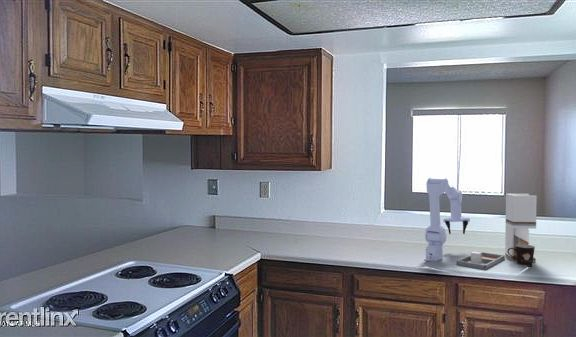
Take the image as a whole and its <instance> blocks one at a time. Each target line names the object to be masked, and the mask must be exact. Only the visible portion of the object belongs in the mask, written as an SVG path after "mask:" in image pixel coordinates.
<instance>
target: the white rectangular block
mask: <svg viewBox="0 0 576 337" xmlns="http://www.w3.org/2000/svg"><path fill="white" fill-rule="evenodd" d="M481 252H482V251H478V252H477V251H472V252H470V255H471V263H475V264H481V265H482V253H481Z"/></svg>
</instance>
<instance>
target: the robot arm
mask: <svg viewBox="0 0 576 337" xmlns="http://www.w3.org/2000/svg"><path fill="white" fill-rule="evenodd" d="M425 185H426V193H427V194H428V199H429V200H428V201H429V216H430V217H429V219H430V225H429V226H427V227H426V229H425V233H424V239H425V241H426V242H427V246H426V248H425V258H423V260H424V261H425V262H426V261H427V262H432V261H435V262H437V261H440V260H443V254H444V252H443V249H444V248H443V247H444V246H443V245H444V244H445V243H446V241H447V234H446V228H444V227H443V225H441V211H440V210H441V206H440V196H441V195H443V194H445V195H447V198H448V200H449V202H450V205H449V206H450V217H443V218H442V223H445V225H446V227H447V230H448V234H449V235H451V223H450V222H453V223H454V222H460V223H462V234H464V235H465V233H466V229H467V226H468V225H469V222H471V218H470V217H462V202H463V200H462V199H463V192H462V191H461V190H457V188H455V187H454V185H453V184H450V183H449V179H447V178H446V177H443V178H441V177H429V178H428V179H427V180H426V184H425Z"/></svg>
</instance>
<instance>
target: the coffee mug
mask: <svg viewBox="0 0 576 337" xmlns="http://www.w3.org/2000/svg"><path fill="white" fill-rule="evenodd" d="M515 246H516V249H514V248H509V249H508V251H507V252H508V254H509V250H510V249H514V250H515V252H516V255H517V259H516V258H515V257H513V256H512V255H510V254H509V255H510V256H511V257H513V258H514V259H516V260H517V264H518V265H521V266H526V268H532V266H533V263H534V262H533V257H534V254H535V248H536V247H535V246H534V245H531V244H528V245H524V244H518V245H515Z"/></svg>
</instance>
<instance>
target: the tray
mask: <svg viewBox="0 0 576 337" xmlns="http://www.w3.org/2000/svg"><path fill="white" fill-rule="evenodd" d="M476 252H479V251H476ZM480 252H481V253H482V265H481V264H475V263H471V254H468V255H466V256H464V257H461V258H460V259H458V260H456V266H462V267H468V268H472V269H480V270H484V271H486V270H488V269H490V268H492V267H493V266H495V265H497V264H499V263H500V262H503V261H505V258H506V257H505V255H504V254H496V253H491V252H486V251H485V252H484V251H480Z"/></svg>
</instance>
